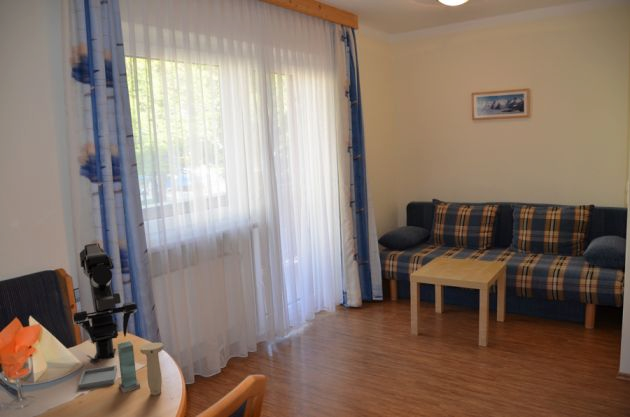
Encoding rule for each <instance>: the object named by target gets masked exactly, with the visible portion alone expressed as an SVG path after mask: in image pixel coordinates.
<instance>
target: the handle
mask: <svg viewBox="0 0 630 417" xmlns="http://www.w3.org/2000/svg"><path fill="white" fill-rule="evenodd" d="M163 349H164V345H163V343H162V342H150V343H145V344H142V345H141V346H140V347H139V351H140V353H141V354H142V355H145V357H146V374H147V375H146V376H147V383H148V388H149V392H150V393H149V394H150V395H152V396H158V395H160V394H162V386H163V385H162V383H163V382H162V380H163V377H162V372H161V369H162V368H161V366H160V358H159V353H160V352H162V351H163Z"/></svg>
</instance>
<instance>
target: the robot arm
mask: <svg viewBox="0 0 630 417" xmlns="http://www.w3.org/2000/svg"><path fill="white" fill-rule="evenodd" d="M79 264H80V268H82V271H83V274H84V275H85V277H87V278H88V281H89V287H90V294H91V301H92V308H93V312H87V310H83V311H79V312H75V313H73V315H72V321H73V325H75V326H78V327H80V328H81V327H82V328H83V330H84V331H85V332H86V333H87V336H88V337H89V339H90V342H91V344H93V345H94V344H95V351H96V352H95V355H94V360H95V361H96V360H101V359H102V360H103V359H108V358H109V359H110V358H115V354H116V351H117V348H114V341H113V339H117V338H118V336H119V325H118V324H117V323H116V320H115V321H114V318H113V315H116V314H117V315H118V314H122V332H123V337H124V338H125V337H127V331H128V325H129V324H128V323H129V319H130V317H132V316H133V315H134V313H137V311H138V305H137V303H136V302H135V301H131V302H127V303H126V302H125V303H122V306H119V307H116V305H118V304H121V302H122V301H121V294H120V292H116V293H113V290H112V285H111V282H112V278H113V272H112V271H113V269H115V264H114V262H113V260H112V258H111V256H110V255H108V253H106V252H105V250H104V249H103V248H102V247H101V246H100V243H95V242H94V243H88V244H85V245H84V247H83V249H82V250H81V251H80V252H79ZM90 320H91V321H90Z"/></svg>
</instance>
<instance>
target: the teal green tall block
mask: <svg viewBox="0 0 630 417" xmlns="http://www.w3.org/2000/svg"><path fill="white" fill-rule="evenodd" d="M116 346H117V351H118V352H117V354H118V363H119V370H120V372H119V373H120V380H121V381H120V382H118V387H119V388H120V389H121V392H122V393H128V392H131V391H134V390H137V389H140V388H141V384H140V382H139V381H138V380H137V371H136V362H135V352H134V344H133V343H132V342H131V341H130V340H128V341H124V342H121V343H118V344H117V345H116Z"/></svg>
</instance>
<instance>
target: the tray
mask: <svg viewBox="0 0 630 417" xmlns="http://www.w3.org/2000/svg"><path fill="white" fill-rule="evenodd" d="M117 366H118V365H117V364H116V365H110V366H102V367H97V368H90V369H84V370H83V371H82V373H81V376H80V379H79V382H78V384H77V385H78V390H79V389H80V390H86V389H91V388H97V387H103V386H109V385H114V384H115V381H116V377H117V372H118V367H117Z"/></svg>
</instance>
